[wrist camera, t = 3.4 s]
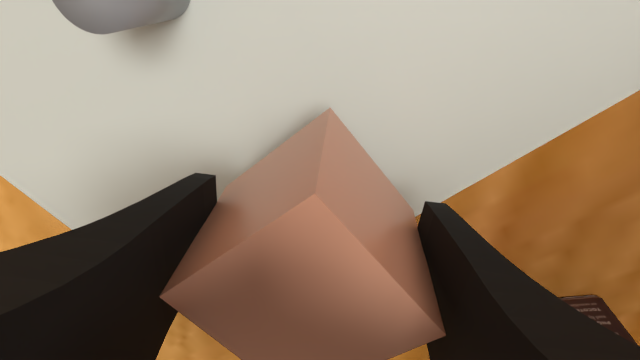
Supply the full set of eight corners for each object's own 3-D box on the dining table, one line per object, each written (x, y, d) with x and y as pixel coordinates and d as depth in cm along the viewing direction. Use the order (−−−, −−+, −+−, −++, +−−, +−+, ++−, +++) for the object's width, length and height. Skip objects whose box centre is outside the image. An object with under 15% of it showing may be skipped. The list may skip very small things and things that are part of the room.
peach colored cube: (413, 210, 12) (446, 335, 8) (311, 267, 13) (292, 398, 9) (330, 107, 10) (314, 193, 6) (226, 186, 12) (159, 296, 8)
